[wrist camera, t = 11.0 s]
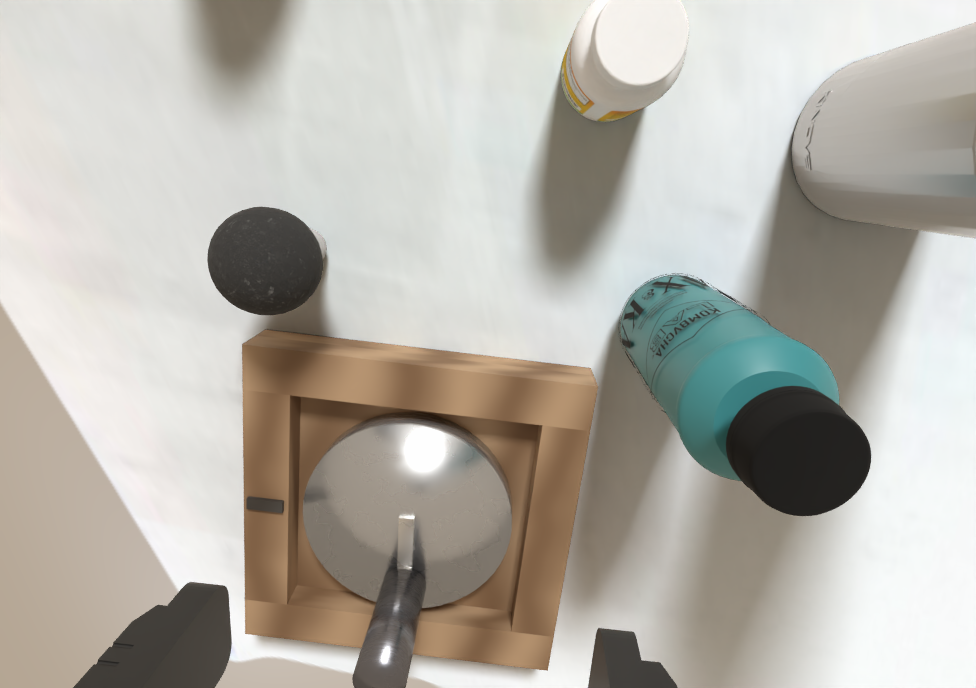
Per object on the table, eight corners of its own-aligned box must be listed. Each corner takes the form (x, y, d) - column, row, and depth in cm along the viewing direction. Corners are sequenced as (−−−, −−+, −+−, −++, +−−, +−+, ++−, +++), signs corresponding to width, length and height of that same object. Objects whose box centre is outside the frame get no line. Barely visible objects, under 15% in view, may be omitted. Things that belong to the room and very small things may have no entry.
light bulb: (371, 237, 37) (322, 259, 27) (325, 305, 38) (262, 349, 29) (297, 182, 36) (220, 185, 26) (252, 253, 37) (163, 281, 28)
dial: (310, 404, 39) (244, 480, 29) (520, 421, 38) (523, 503, 29) (314, 580, 43) (256, 698, 33) (503, 596, 42) (501, 720, 33)
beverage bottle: (734, 300, 37) (972, 436, 18) (671, 383, 39) (828, 587, 20) (650, 247, 36) (805, 329, 17) (590, 333, 38) (671, 496, 19)
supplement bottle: (669, 44, 33) (731, -6, 24) (627, 137, 35) (670, 124, 25) (583, 5, 33) (612, -61, 23) (545, 100, 34) (557, 73, 25)
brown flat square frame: (590, 368, 39) (598, 388, 35) (544, 633, 45) (547, 675, 41) (265, 329, 39) (239, 346, 35) (265, 599, 45) (243, 638, 41)
